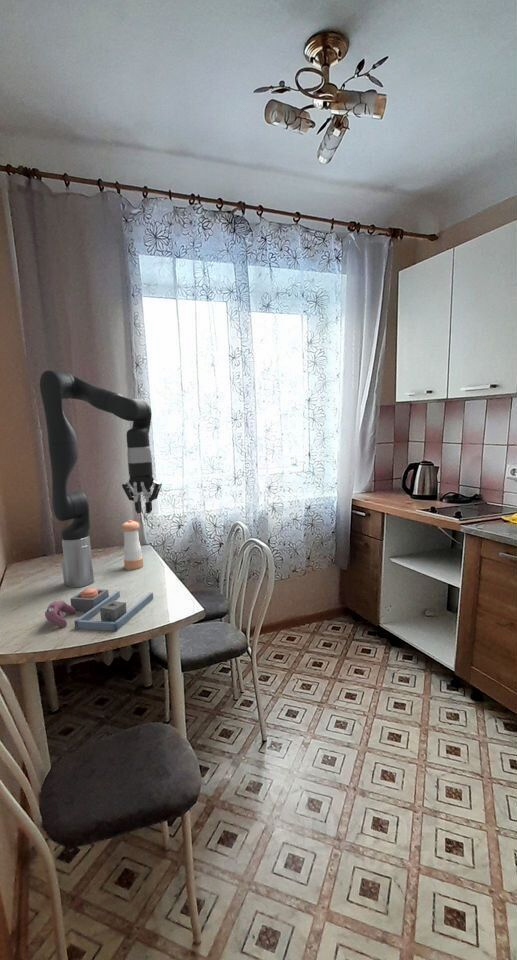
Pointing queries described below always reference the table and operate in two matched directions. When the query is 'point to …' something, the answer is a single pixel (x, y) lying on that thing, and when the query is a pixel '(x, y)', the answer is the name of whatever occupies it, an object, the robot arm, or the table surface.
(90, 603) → the button housing
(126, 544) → the pepper shaker
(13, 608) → the table surface
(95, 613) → the track
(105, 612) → the gray cube
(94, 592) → the button
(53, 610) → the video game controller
